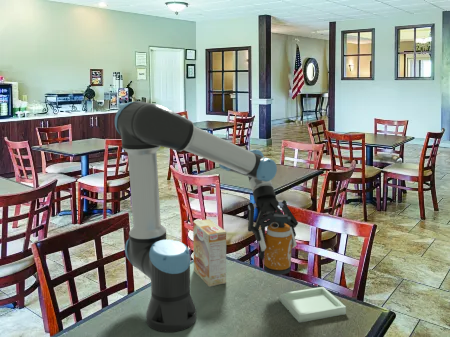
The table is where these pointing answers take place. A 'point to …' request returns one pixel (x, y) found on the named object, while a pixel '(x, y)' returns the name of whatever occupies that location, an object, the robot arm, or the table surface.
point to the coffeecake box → (209, 252)
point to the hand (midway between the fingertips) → (279, 247)
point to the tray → (312, 304)
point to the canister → (276, 243)
